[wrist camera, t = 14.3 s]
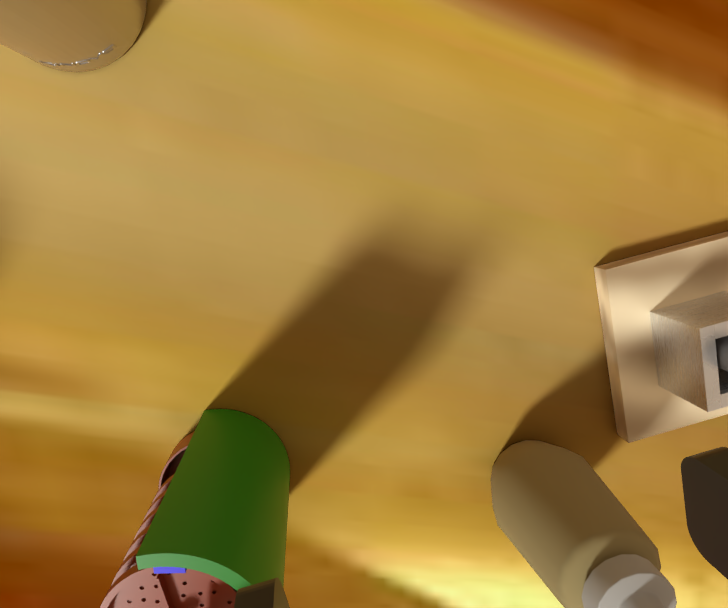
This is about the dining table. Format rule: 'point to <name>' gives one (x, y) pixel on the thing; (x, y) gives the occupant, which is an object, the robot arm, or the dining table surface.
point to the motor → (210, 519)
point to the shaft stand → (634, 334)
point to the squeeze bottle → (575, 530)
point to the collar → (692, 350)
